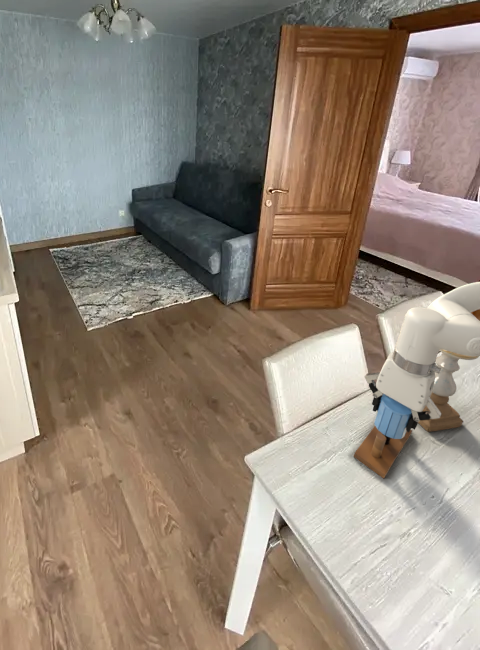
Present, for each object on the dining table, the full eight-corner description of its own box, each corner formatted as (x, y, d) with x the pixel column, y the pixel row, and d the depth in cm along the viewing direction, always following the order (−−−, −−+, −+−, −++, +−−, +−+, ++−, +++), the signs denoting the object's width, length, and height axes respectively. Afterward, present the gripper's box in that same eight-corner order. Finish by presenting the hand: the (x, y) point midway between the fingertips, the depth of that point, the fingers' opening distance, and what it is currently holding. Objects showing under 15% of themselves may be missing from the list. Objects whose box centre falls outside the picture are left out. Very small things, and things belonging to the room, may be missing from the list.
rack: (382, 417, 96) (389, 397, 93) (410, 434, 91) (418, 413, 88) (353, 457, 85) (359, 435, 82) (383, 479, 80) (391, 456, 77)
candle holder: (428, 395, 103) (453, 329, 94) (462, 426, 93) (494, 355, 84) (396, 399, 101) (419, 332, 92) (427, 432, 91) (456, 360, 82)
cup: (404, 422, 86) (412, 398, 83) (405, 443, 81) (414, 418, 78) (374, 411, 89) (381, 388, 86) (373, 431, 84) (381, 406, 81)
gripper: (464, 373, 73) (438, 433, 80) (378, 334, 86) (362, 389, 92) (454, 391, 69) (428, 453, 76) (365, 347, 81) (349, 404, 88)
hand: (392, 417), depth 84 cm, fingers closed on cup, 6 cm apart
